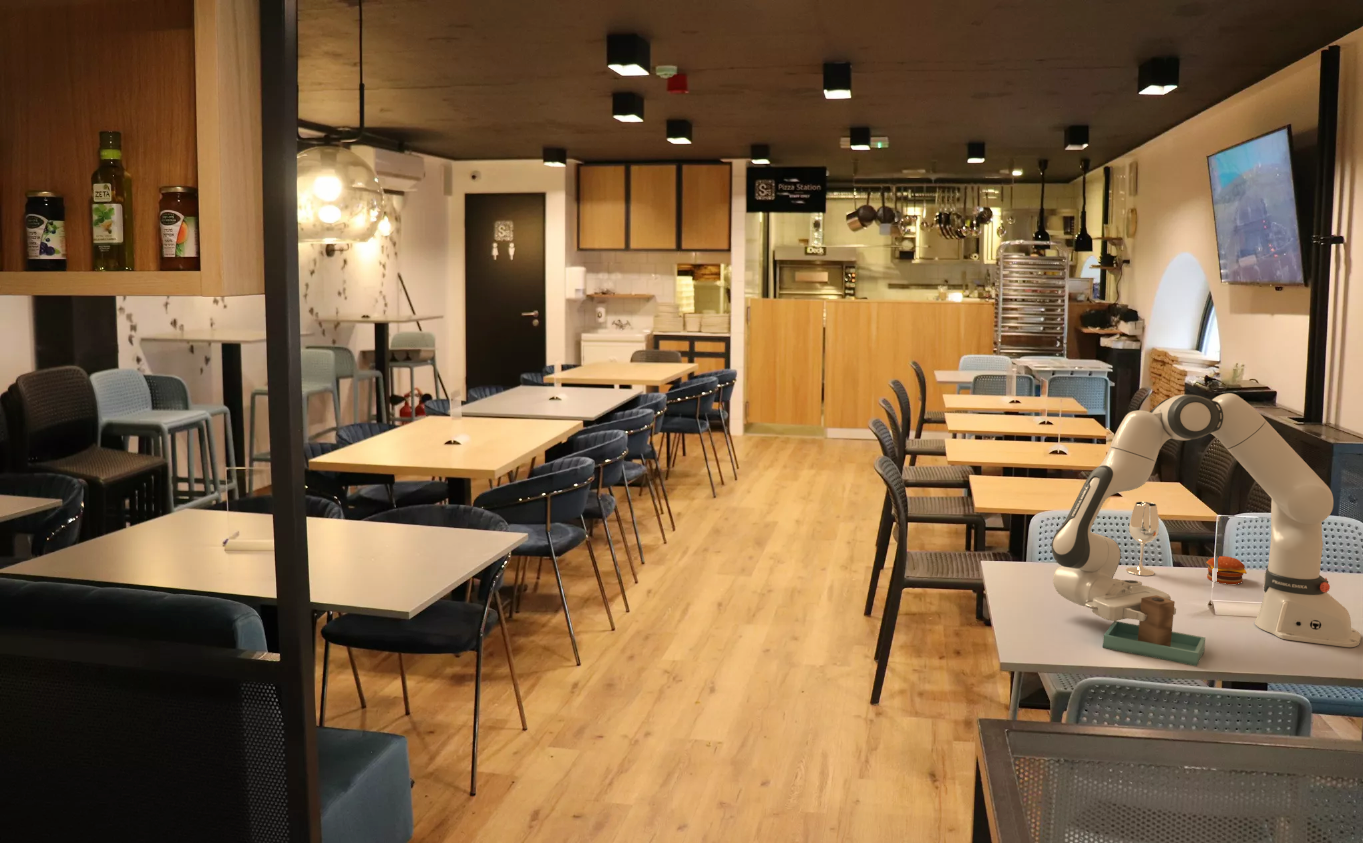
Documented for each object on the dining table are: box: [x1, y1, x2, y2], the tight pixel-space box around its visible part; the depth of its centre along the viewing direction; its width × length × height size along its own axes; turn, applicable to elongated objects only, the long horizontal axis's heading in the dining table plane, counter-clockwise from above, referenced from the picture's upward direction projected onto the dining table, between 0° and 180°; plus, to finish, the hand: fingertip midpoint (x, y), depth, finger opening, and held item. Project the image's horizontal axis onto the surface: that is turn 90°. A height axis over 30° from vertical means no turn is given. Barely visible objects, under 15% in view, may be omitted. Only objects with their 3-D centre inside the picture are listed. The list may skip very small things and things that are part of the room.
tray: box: [1102, 620, 1206, 667], centre depth 259 cm, size 20×12×3 cm, turn 58°
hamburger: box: [1205, 555, 1248, 585], centre depth 313 cm, size 9×10×7 cm
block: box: [1138, 595, 1176, 647], centre depth 258 cm, size 5×5×11 cm
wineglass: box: [1125, 501, 1160, 577], centre depth 318 cm, size 8×8×20 cm
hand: (1159, 614), depth 257 cm, fingers open, 8 cm apart
